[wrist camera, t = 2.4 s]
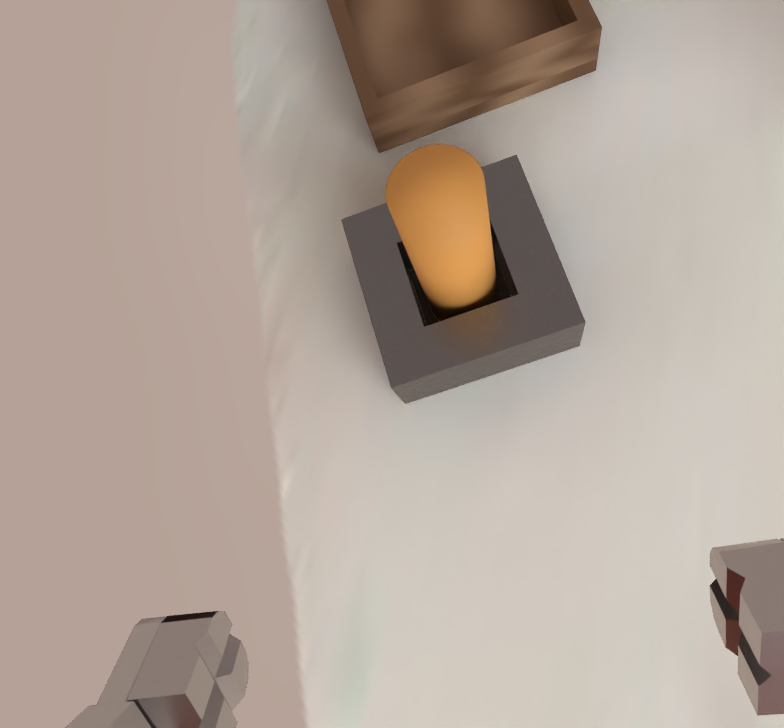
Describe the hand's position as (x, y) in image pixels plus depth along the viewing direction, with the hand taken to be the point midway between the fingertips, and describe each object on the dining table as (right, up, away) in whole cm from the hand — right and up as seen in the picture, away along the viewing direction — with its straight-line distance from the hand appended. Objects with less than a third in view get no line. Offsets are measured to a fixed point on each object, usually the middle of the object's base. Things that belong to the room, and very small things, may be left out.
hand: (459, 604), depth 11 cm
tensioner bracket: (+3, +8, +26) cm, 28 cm away
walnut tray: (+2, +27, +32) cm, 42 cm away
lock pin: (+3, +8, +26) cm, 28 cm away
